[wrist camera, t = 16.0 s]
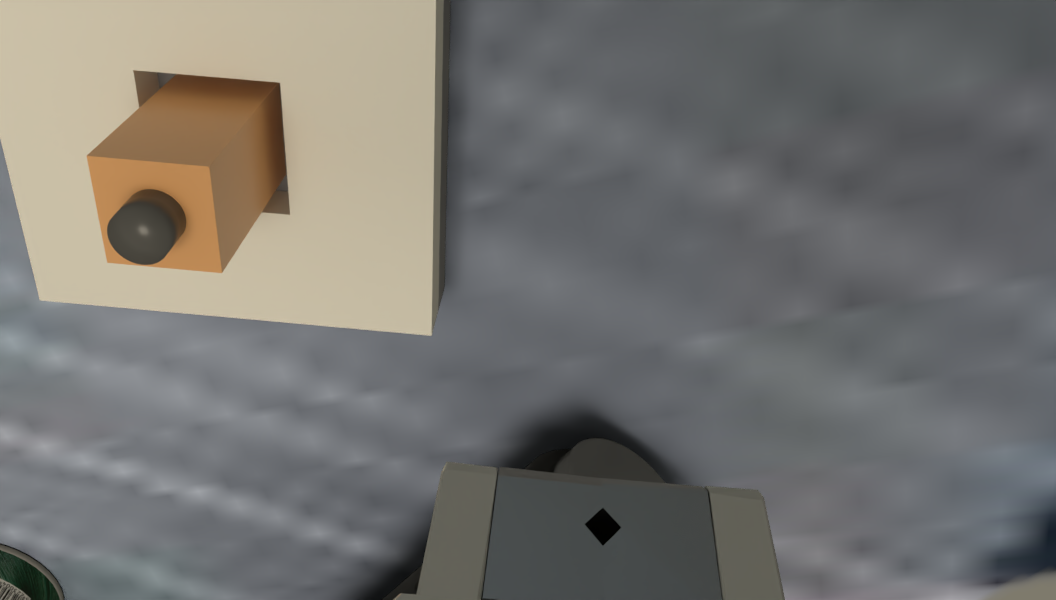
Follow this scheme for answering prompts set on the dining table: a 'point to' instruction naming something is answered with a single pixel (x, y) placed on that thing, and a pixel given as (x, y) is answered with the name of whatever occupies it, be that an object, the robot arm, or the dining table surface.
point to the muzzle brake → (582, 461)
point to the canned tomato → (25, 578)
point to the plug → (189, 173)
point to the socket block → (309, 144)
